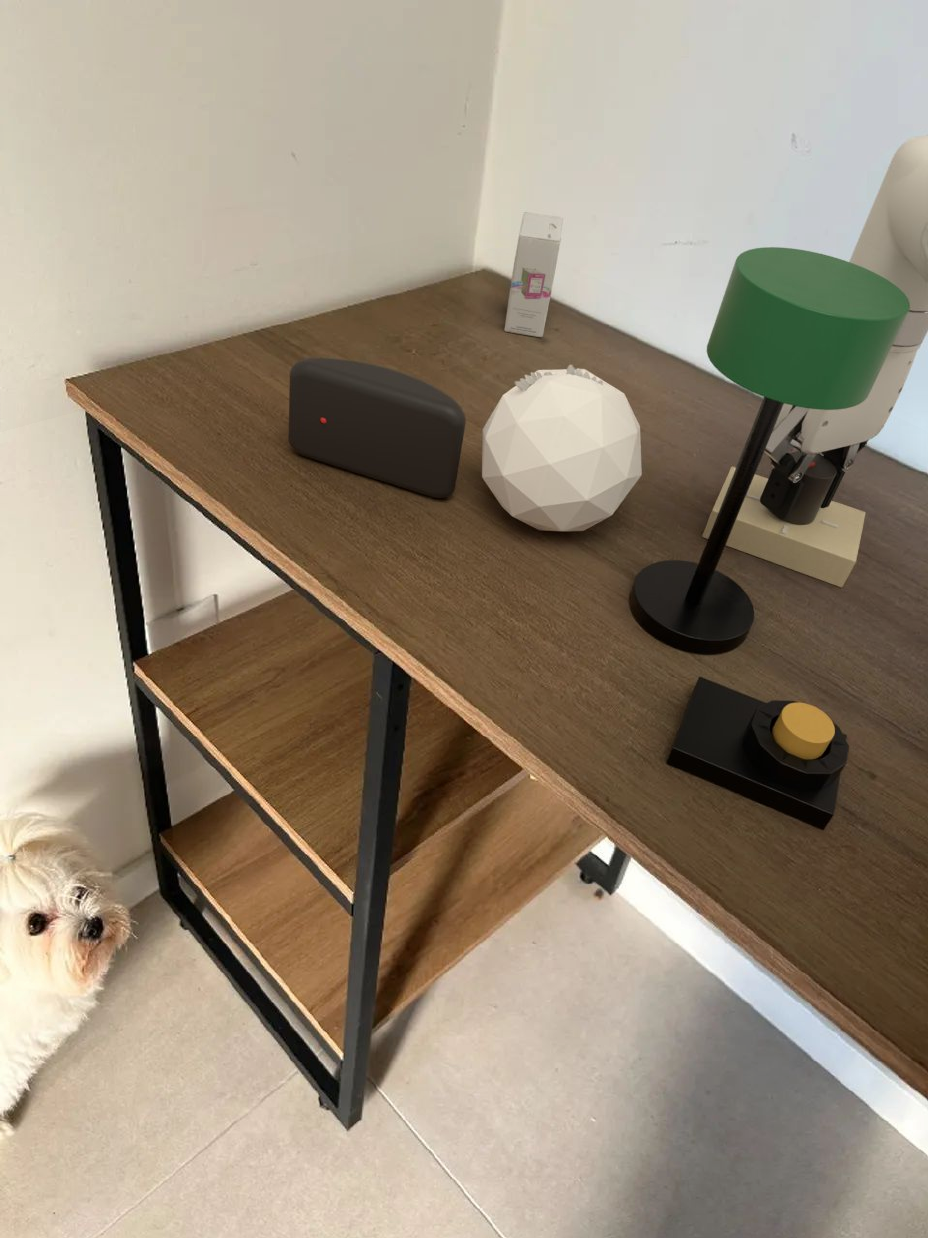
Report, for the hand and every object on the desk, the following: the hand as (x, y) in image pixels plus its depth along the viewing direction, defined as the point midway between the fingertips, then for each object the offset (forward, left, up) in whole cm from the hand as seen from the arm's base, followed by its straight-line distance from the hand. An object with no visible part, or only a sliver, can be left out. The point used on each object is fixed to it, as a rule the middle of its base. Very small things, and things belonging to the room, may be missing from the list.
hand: (794, 503), depth 85 cm
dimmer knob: (0, 0, -1) cm, 1 cm away
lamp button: (-5, +29, -1) cm, 29 cm away
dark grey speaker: (+36, +14, -4) cm, 39 cm away
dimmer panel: (0, 0, -4) cm, 4 cm away
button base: (-3, +29, -4) cm, 29 cm away
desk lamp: (+5, +16, -4) cm, 17 cm away
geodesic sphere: (+20, +10, -4) cm, 23 cm away
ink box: (+37, -28, -4) cm, 47 cm away
